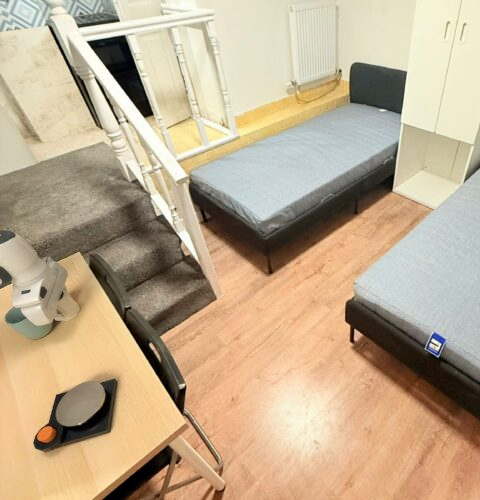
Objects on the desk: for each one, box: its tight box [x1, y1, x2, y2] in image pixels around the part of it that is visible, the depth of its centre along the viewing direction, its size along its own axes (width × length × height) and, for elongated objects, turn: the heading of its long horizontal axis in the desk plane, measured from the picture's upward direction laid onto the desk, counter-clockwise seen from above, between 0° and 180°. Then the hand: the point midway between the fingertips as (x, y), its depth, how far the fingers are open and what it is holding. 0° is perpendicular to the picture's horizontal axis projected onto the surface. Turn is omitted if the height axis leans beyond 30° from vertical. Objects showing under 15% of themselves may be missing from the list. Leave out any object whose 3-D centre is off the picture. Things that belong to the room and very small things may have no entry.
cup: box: [3, 306, 53, 340], centre depth 97 cm, size 8×8×10 cm
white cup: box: [56, 290, 81, 322], centre depth 102 cm, size 6×6×8 cm
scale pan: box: [56, 380, 105, 427], centre depth 81 cm, size 11×11×1 cm
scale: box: [32, 378, 119, 453], centre depth 81 cm, size 15×14×4 cm
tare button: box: [37, 426, 57, 443], centre depth 76 cm, size 3×3×2 cm
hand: (63, 307), depth 103 cm, fingers open, 7 cm apart
